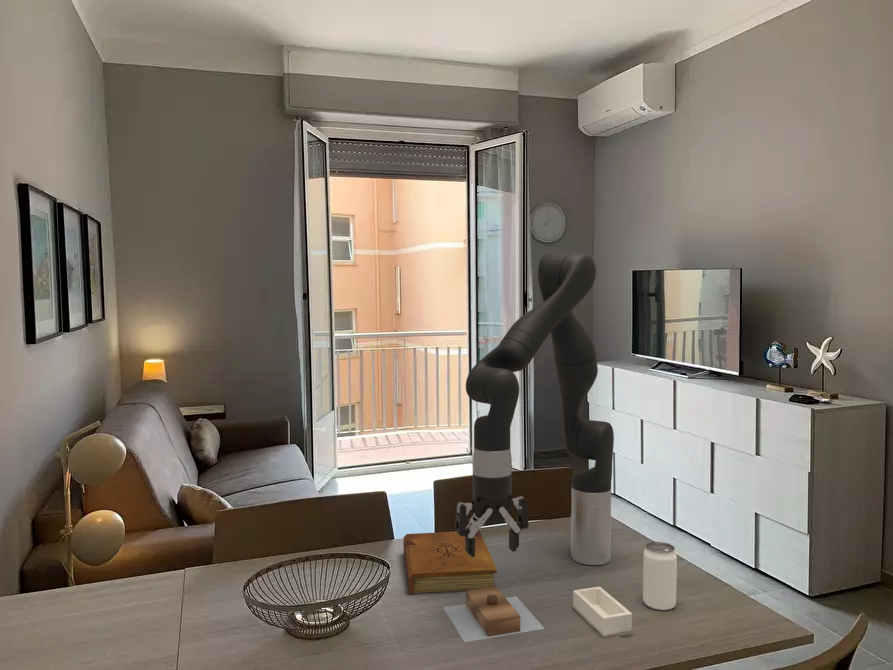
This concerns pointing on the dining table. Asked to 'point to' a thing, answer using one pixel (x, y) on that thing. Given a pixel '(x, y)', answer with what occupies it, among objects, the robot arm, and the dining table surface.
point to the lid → (493, 611)
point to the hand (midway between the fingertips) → (492, 552)
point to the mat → (473, 629)
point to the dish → (602, 612)
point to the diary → (446, 563)
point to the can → (659, 576)
